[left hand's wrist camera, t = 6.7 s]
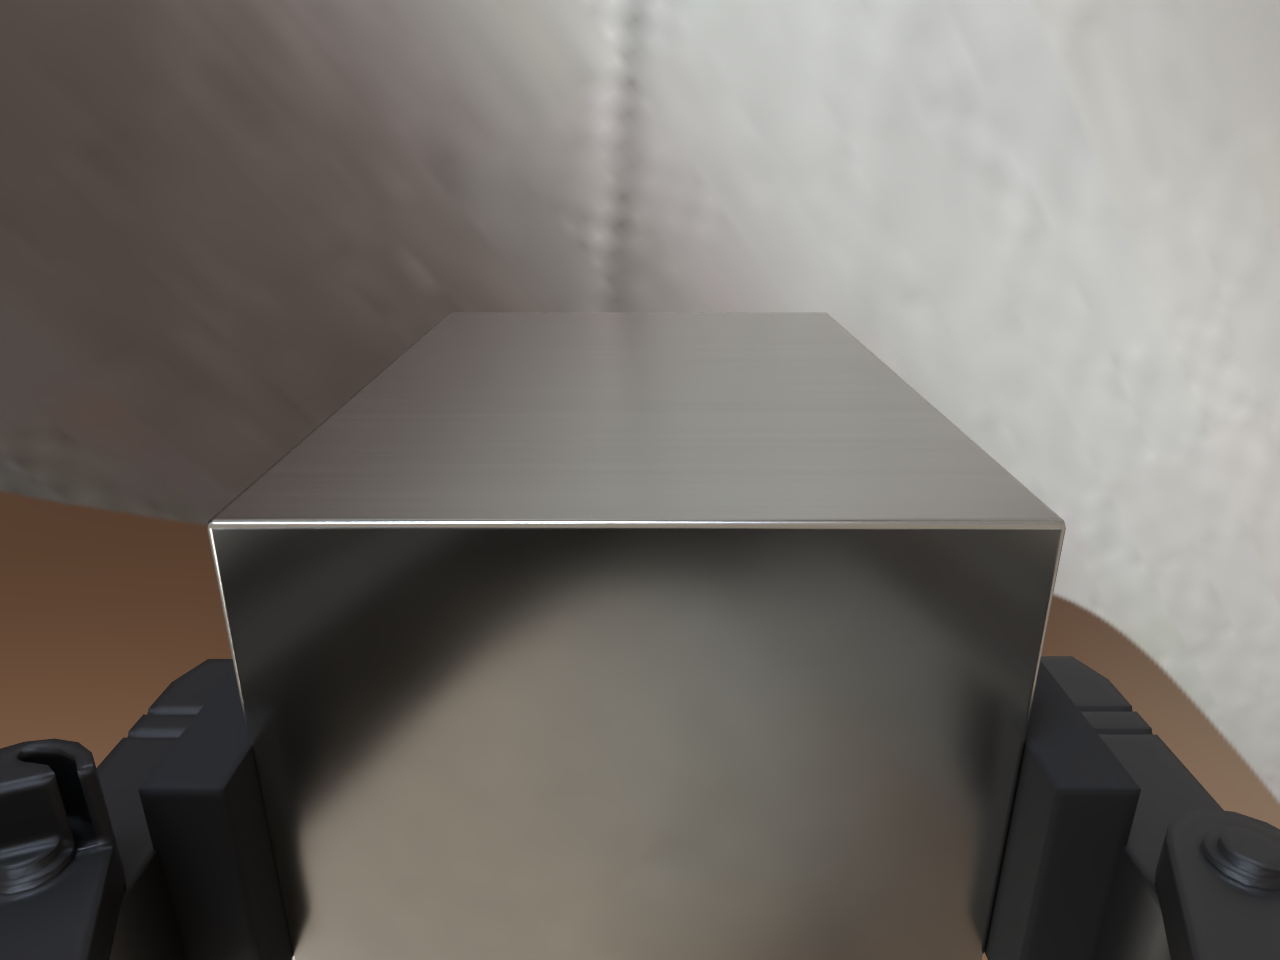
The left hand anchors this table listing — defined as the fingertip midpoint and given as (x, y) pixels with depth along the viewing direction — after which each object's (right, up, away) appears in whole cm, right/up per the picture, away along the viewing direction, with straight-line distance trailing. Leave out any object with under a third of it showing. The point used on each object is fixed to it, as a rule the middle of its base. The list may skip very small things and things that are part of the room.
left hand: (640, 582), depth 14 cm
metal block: (0, +1, +4) cm, 4 cm away
